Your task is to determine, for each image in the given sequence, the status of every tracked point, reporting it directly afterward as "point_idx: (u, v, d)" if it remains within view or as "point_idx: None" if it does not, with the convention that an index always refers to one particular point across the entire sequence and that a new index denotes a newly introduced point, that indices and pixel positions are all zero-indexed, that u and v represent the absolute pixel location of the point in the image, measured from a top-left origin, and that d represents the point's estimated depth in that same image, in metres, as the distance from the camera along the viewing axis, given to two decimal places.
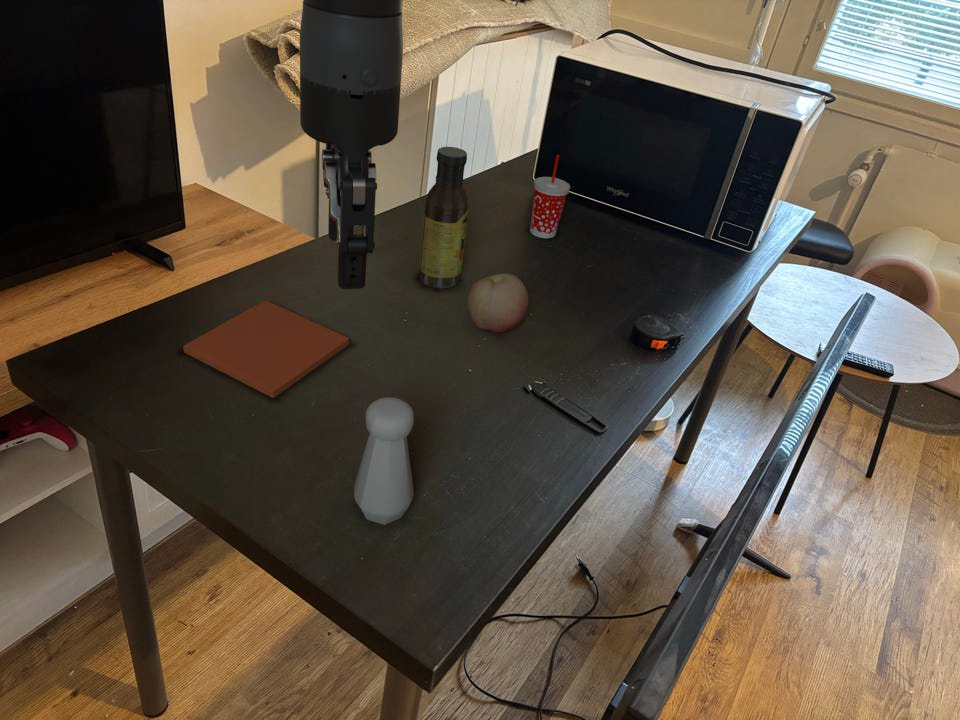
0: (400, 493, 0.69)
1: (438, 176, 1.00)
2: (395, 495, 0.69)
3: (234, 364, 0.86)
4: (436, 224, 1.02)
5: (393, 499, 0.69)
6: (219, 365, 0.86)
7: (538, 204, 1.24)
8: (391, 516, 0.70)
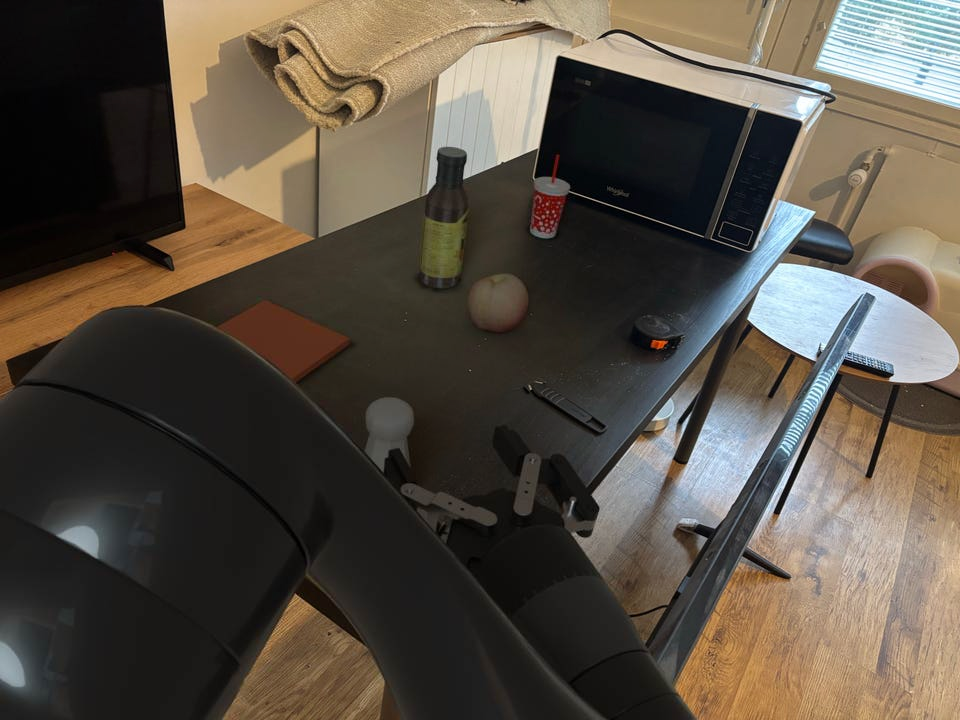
0: None
1: (438, 176, 1.00)
2: None
3: None
4: (436, 224, 1.02)
5: None
6: None
7: (538, 204, 1.24)
8: None
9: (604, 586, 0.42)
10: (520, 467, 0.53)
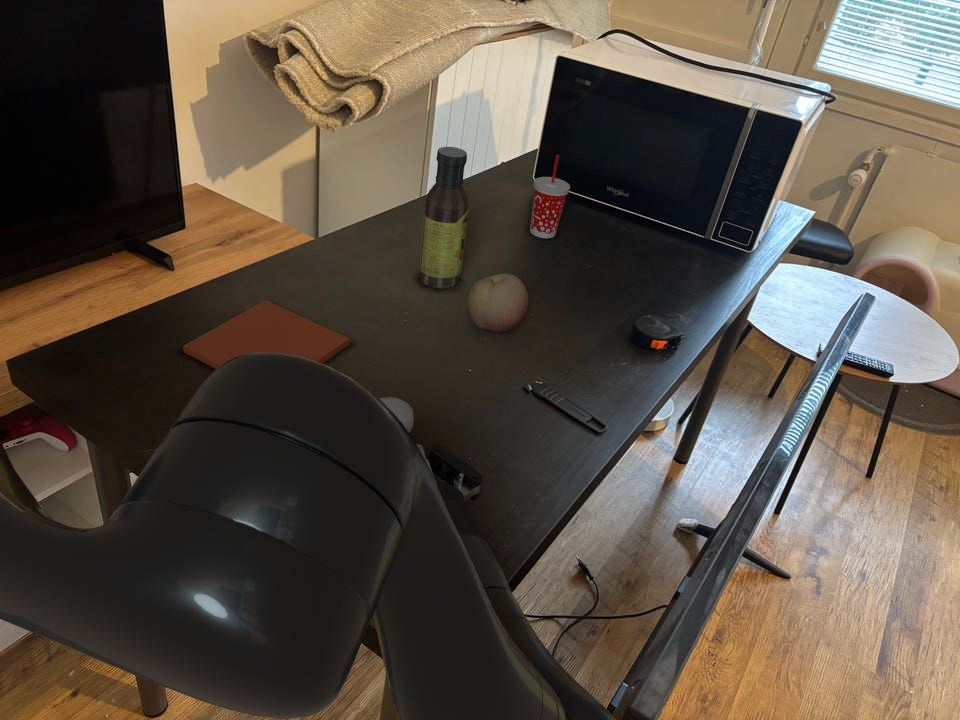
0: None
1: (438, 176, 1.00)
2: None
3: None
4: (436, 224, 1.02)
5: None
6: (219, 365, 0.86)
7: (538, 204, 1.24)
8: None
9: (481, 543, 0.57)
10: None
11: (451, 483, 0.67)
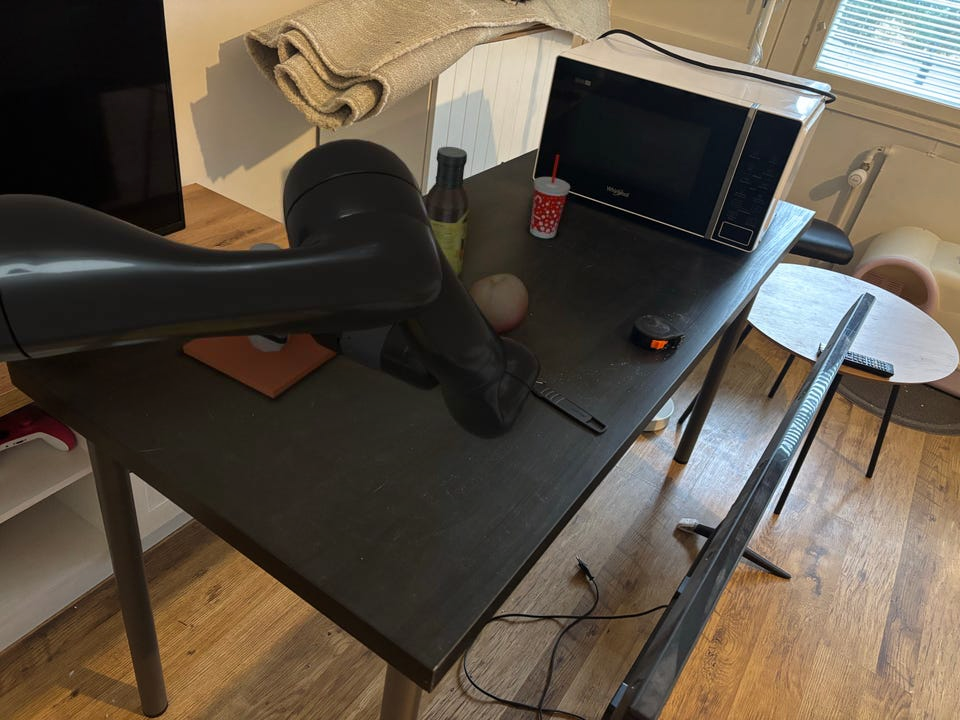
0: None
1: (438, 176, 1.00)
2: None
3: (234, 364, 0.86)
4: (436, 224, 1.02)
5: None
6: (219, 365, 0.86)
7: (538, 204, 1.24)
8: None
9: None
10: None
11: None
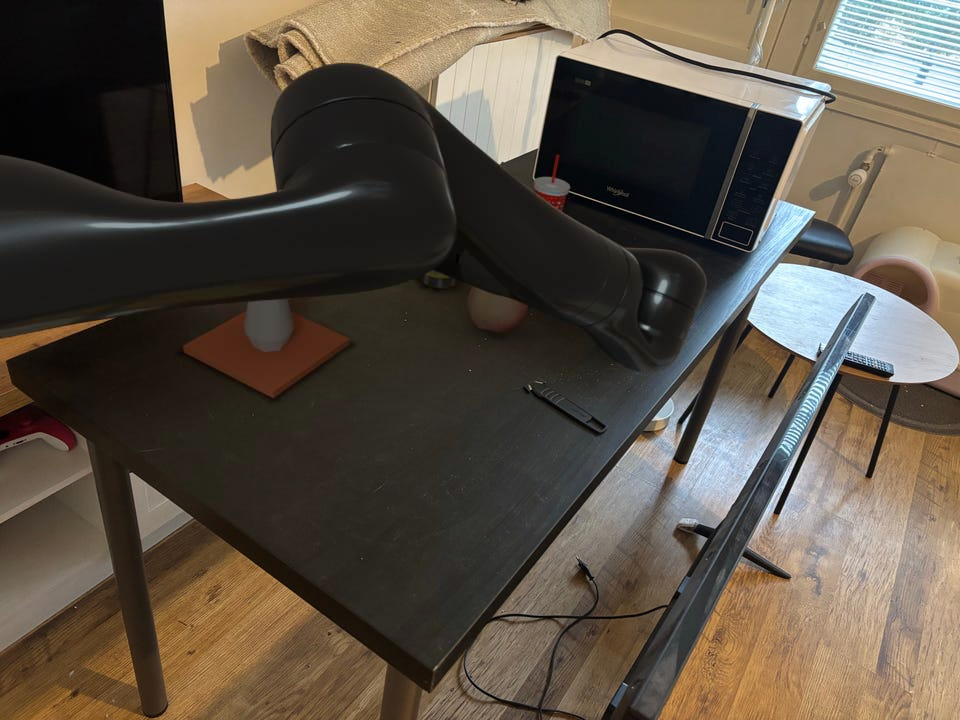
0: (288, 317, 0.88)
1: None
2: (285, 320, 0.88)
3: (234, 364, 0.86)
4: None
5: (284, 323, 0.88)
6: (219, 365, 0.86)
7: None
8: (285, 339, 0.89)
9: None
10: None
11: None
